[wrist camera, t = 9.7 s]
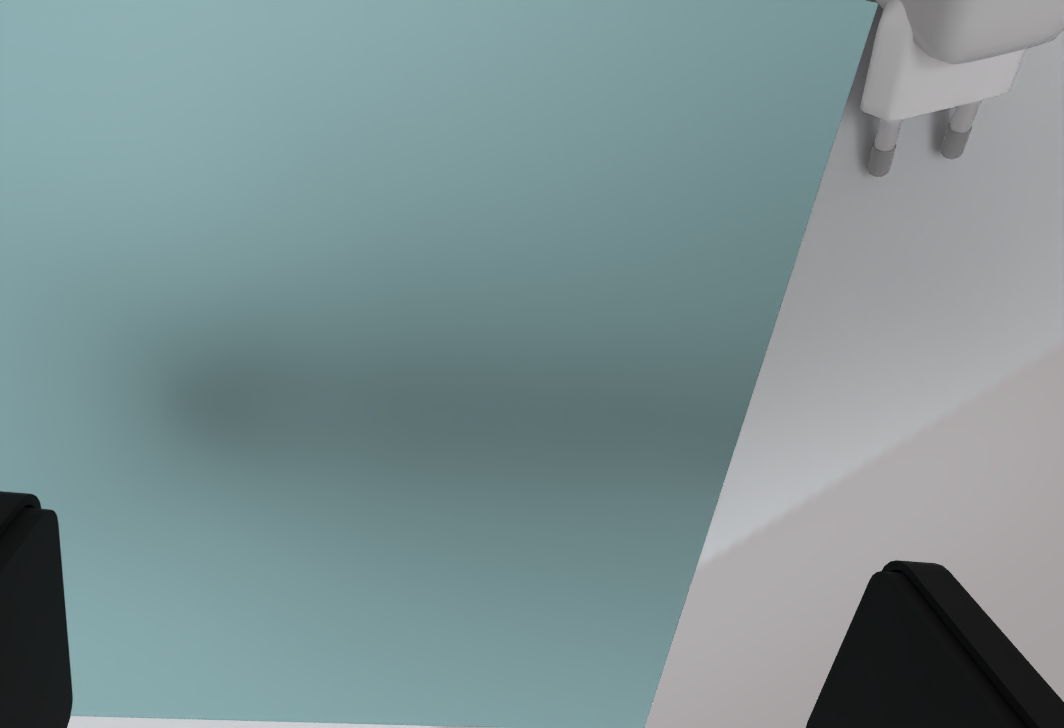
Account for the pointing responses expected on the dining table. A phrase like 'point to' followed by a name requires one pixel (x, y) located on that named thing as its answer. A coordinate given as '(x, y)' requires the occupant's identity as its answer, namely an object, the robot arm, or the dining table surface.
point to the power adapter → (948, 62)
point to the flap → (394, 335)
